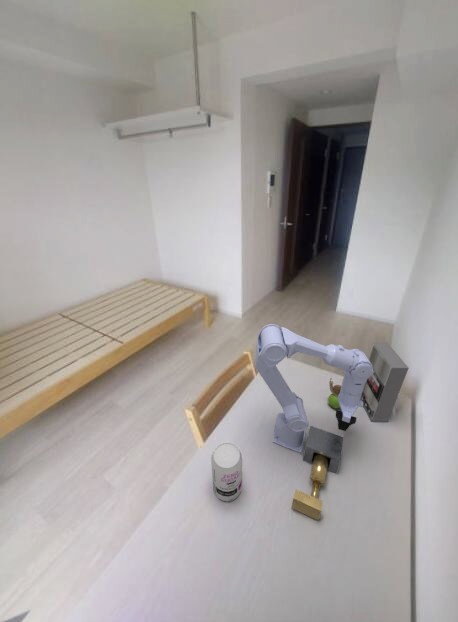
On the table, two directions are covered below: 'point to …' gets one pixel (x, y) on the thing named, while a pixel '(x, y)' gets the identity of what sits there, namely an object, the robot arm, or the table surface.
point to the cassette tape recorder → (383, 382)
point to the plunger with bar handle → (312, 503)
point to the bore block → (324, 447)
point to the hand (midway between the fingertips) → (342, 419)
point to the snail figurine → (334, 395)
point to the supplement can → (227, 471)
